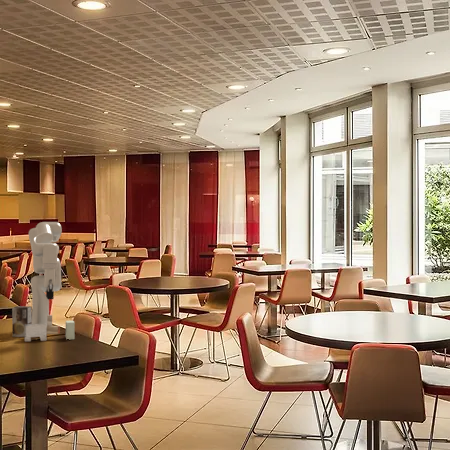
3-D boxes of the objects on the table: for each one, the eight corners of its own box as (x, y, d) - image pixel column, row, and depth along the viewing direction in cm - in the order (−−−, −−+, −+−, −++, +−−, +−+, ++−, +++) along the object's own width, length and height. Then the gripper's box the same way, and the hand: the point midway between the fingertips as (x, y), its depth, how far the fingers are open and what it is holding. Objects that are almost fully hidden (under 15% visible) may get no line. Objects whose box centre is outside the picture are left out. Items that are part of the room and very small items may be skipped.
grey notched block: (24, 339, 356) (24, 324, 356) (45, 338, 359) (45, 323, 359) (24, 341, 348) (25, 326, 348) (46, 340, 352) (46, 325, 352)
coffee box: (32, 335, 370) (32, 306, 370) (27, 337, 363) (27, 307, 364) (16, 334, 371) (16, 306, 371) (11, 336, 364) (11, 307, 364)
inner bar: (26, 333, 354) (26, 315, 354) (59, 332, 360) (59, 314, 360) (26, 334, 351) (26, 316, 351) (59, 333, 356) (59, 315, 356)
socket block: (65, 337, 363) (65, 320, 363) (73, 337, 364) (73, 320, 364) (66, 339, 355) (66, 322, 355) (74, 339, 356) (74, 322, 356)
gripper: (42, 265, 363) (41, 297, 363) (43, 267, 347) (43, 300, 347) (56, 265, 366) (55, 296, 366) (58, 267, 349) (58, 299, 349)
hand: (49, 298), depth 356 cm, fingers open, 9 cm apart
